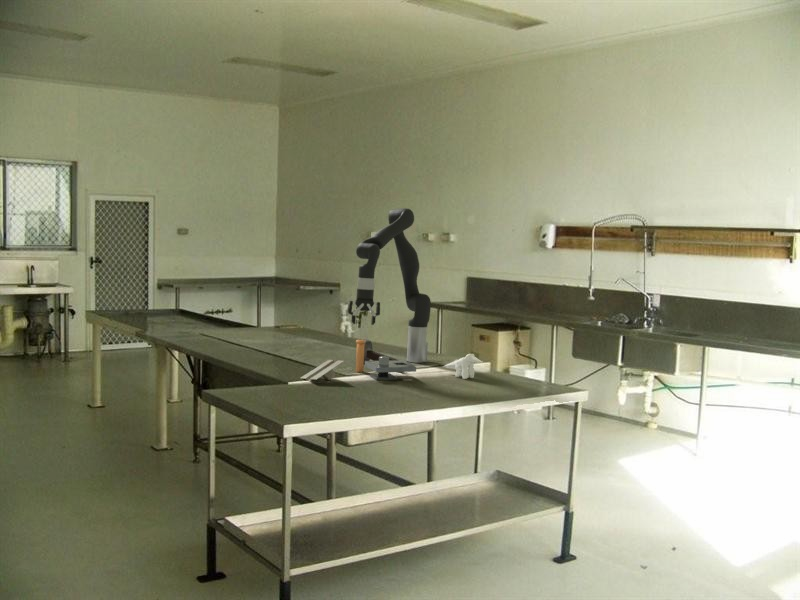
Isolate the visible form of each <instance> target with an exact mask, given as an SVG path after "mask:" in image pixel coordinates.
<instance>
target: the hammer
mask: <svg viewBox="0 0 800 600" xmlns="http://www.w3.org/2000/svg"><path fill="white" fill-rule="evenodd" d="M361 340H366V343H365V346H364V364H365V361H379V357H380V356H386V357H389V361H400V360H399V359H397V358H394V357H393V356H392V357H391V356H388V355H385V354H383V353H380V352H377V351H374V350H373V342H372V341H371V340H369V339H365V338H363V339H361ZM355 352H356V353H357V350H356V351H355Z"/></svg>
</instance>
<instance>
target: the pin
mask: <svg viewBox="0 0 800 600" xmlns="http://www.w3.org/2000/svg"><path fill="white" fill-rule="evenodd" d="M365 343H366V340H362V339H356V340H355V344H356V351H357V353H356V358H355V372H356V373H364V367H365V363H364V346H365Z"/></svg>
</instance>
